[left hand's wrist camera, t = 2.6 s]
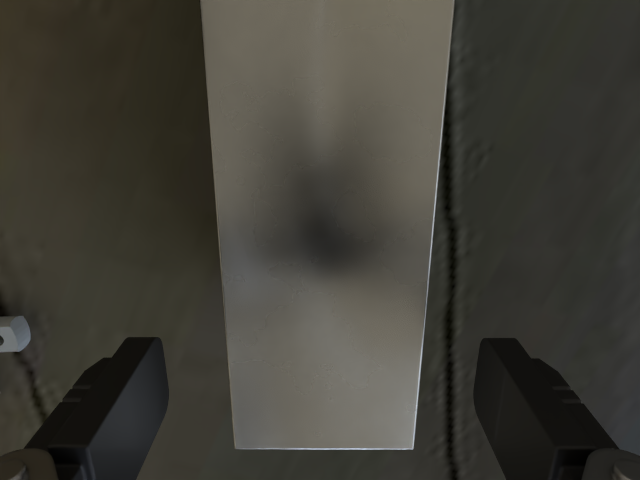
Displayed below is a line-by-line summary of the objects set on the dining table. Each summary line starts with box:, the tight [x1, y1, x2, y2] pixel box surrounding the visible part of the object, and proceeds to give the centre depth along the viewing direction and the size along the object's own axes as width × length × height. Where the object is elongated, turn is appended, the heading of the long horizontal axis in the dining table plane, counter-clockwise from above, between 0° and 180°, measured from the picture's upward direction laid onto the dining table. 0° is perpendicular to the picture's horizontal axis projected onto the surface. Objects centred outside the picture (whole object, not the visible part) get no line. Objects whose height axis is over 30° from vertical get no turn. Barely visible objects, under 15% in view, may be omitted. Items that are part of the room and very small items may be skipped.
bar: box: [200, 0, 455, 450], centre depth 14 cm, size 25×5×9 cm, turn 0°
